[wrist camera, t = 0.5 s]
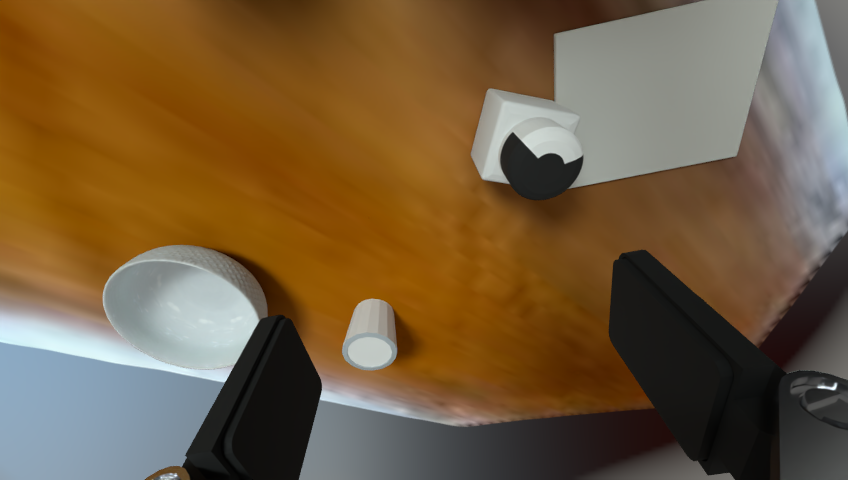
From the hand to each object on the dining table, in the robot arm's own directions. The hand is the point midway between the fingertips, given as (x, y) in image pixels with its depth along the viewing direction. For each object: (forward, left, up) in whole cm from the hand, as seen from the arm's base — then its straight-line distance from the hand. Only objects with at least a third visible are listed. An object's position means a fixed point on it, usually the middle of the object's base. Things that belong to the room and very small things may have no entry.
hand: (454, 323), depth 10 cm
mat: (+4, +24, -31) cm, 39 cm away
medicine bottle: (+4, +9, -31) cm, 32 cm away
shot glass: (+26, -12, -31) cm, 42 cm away
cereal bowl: (+16, -31, -31) cm, 47 cm away
